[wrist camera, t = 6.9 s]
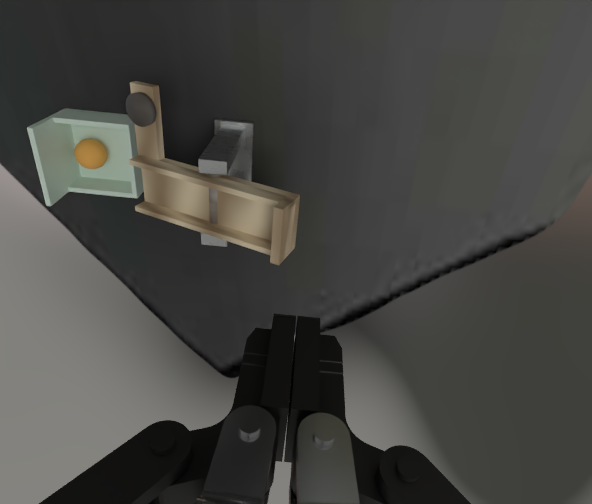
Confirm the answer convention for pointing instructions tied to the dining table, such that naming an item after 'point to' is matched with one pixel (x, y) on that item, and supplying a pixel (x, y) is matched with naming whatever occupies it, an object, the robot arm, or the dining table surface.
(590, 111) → the dining table surface
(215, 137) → the fulcrum
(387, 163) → the dining table surface
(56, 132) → the pale green cubby shelf
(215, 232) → the lever
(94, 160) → the ball
